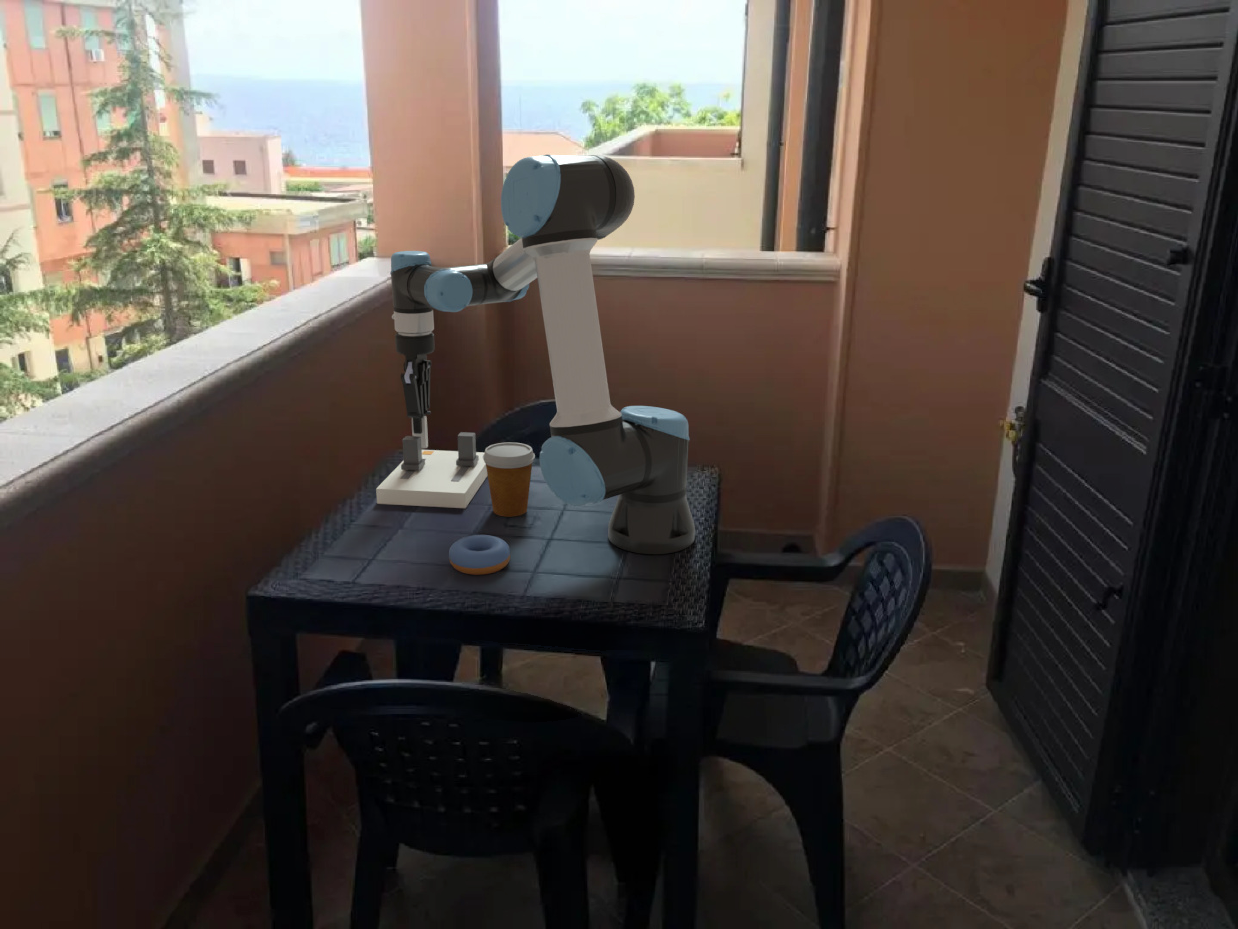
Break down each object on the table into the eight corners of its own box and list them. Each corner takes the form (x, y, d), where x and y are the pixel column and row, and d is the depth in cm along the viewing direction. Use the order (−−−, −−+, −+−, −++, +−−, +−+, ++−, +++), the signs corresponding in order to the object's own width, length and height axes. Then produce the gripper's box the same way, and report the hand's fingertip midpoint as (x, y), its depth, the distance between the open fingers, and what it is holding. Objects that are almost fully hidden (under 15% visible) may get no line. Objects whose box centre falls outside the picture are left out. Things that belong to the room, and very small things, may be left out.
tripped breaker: (419, 470, 192) (417, 441, 190) (401, 469, 192) (399, 440, 190) (425, 464, 196) (423, 435, 194) (407, 463, 196) (405, 434, 194)
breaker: (473, 466, 195) (472, 437, 193) (456, 465, 195) (455, 436, 193) (478, 459, 199) (477, 431, 197) (461, 459, 199) (460, 431, 197)
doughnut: (441, 575, 155) (443, 548, 154) (455, 552, 165) (457, 526, 163) (503, 583, 155) (506, 556, 154) (513, 560, 164) (516, 534, 163)
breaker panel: (465, 508, 183) (464, 492, 182) (377, 503, 184) (376, 488, 183) (493, 466, 205) (493, 452, 204) (414, 462, 207) (414, 448, 206)
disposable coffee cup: (532, 521, 177) (532, 458, 173) (480, 519, 178) (478, 457, 174) (538, 502, 186) (537, 442, 182) (488, 500, 187) (486, 441, 183)
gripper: (406, 325, 197) (412, 436, 205) (384, 338, 185) (392, 456, 193) (442, 326, 196) (447, 438, 204) (423, 339, 184) (429, 458, 192)
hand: (420, 446), depth 198 cm, fingers closed
